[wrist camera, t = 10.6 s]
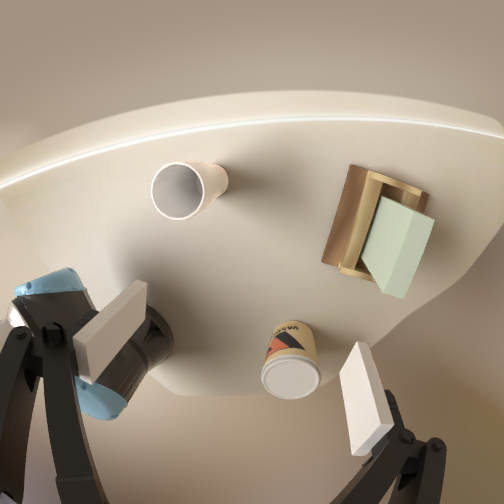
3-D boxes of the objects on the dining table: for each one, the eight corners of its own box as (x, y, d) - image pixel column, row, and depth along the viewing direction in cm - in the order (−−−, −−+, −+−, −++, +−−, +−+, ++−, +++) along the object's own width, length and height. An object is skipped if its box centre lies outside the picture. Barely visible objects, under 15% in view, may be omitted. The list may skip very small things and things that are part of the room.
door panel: (358, 254, 43) (382, 293, 30) (378, 194, 40) (413, 211, 27) (375, 259, 43) (403, 298, 30) (395, 200, 40) (434, 219, 27)
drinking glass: (194, 202, 46) (153, 222, 32) (191, 161, 44) (147, 164, 30) (235, 200, 45) (208, 220, 31) (232, 157, 43) (203, 157, 29)
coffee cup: (300, 307, 49) (300, 348, 38) (326, 342, 51) (332, 386, 39) (257, 331, 52) (248, 374, 41) (285, 363, 53) (282, 407, 42)
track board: (321, 259, 46) (323, 268, 42) (350, 164, 40) (355, 165, 37) (394, 280, 45) (401, 289, 42) (425, 193, 40) (435, 196, 36)
